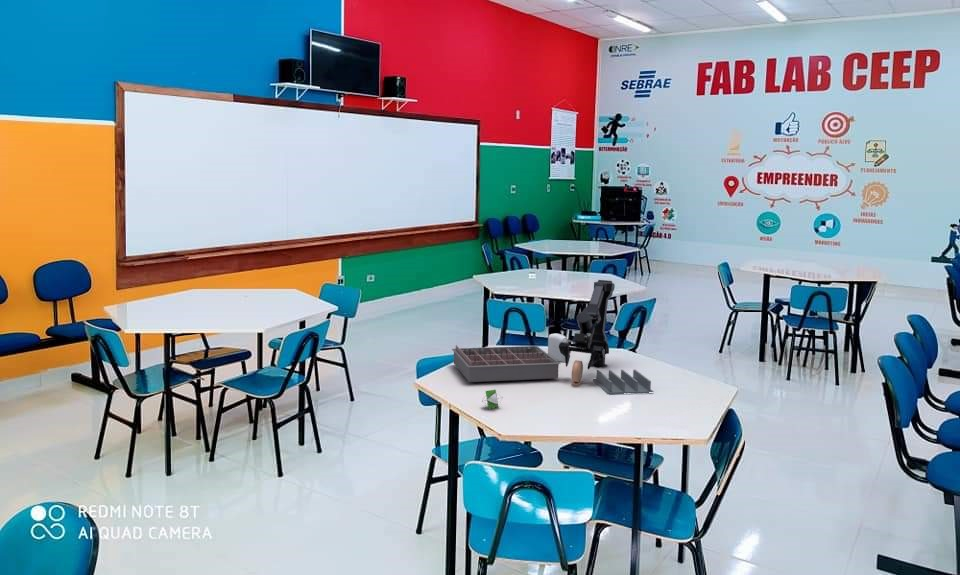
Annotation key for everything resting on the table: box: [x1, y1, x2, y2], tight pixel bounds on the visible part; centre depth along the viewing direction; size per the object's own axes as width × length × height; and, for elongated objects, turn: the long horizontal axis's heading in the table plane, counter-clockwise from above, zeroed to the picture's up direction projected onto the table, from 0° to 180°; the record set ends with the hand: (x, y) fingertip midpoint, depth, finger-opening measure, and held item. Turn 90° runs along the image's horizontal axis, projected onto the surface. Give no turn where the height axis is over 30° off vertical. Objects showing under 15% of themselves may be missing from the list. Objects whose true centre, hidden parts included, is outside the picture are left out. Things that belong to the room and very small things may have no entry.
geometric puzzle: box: [483, 389, 504, 409], centre depth 280 cm, size 7×7×8 cm
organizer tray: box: [451, 344, 562, 383], centre depth 328 cm, size 32×40×10 cm
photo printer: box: [547, 333, 569, 363], centre depth 353 cm, size 10×4×12 cm, turn 39°
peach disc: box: [570, 359, 584, 387], centre depth 313 cm, size 9×3×10 cm, turn 157°
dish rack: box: [592, 369, 654, 395], centre depth 311 cm, size 20×19×5 cm
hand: (577, 367), depth 312 cm, fingers open, 9 cm apart
